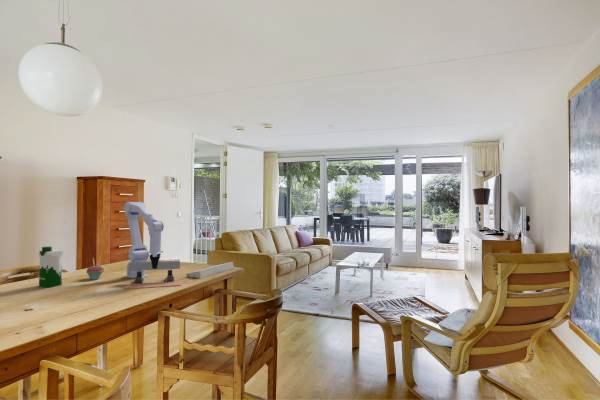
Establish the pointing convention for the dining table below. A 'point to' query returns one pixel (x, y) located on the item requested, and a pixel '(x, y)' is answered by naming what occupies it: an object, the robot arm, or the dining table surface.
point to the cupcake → (95, 271)
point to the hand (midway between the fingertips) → (154, 267)
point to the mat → (153, 285)
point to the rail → (148, 265)
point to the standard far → (169, 276)
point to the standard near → (138, 278)
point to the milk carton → (50, 267)
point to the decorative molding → (211, 270)
